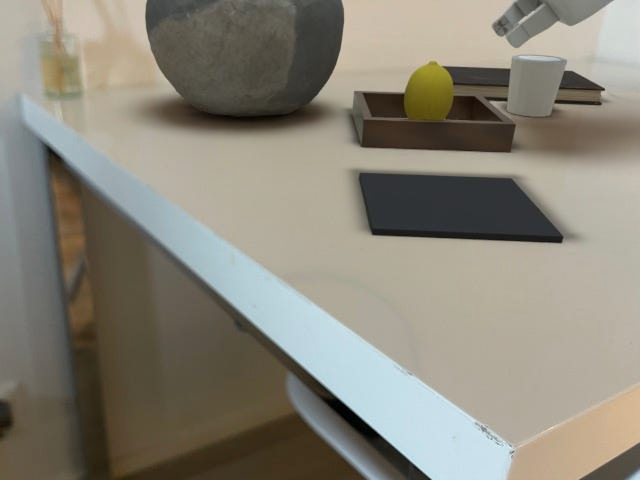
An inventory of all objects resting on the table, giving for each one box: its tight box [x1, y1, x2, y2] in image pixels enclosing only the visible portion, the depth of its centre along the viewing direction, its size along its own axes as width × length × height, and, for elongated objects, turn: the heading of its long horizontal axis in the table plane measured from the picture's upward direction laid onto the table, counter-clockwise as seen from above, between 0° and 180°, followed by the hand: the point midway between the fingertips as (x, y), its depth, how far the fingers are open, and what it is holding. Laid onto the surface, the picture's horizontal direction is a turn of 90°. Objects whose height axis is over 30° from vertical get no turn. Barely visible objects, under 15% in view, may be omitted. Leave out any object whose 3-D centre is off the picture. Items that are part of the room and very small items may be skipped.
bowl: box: [144, 0, 345, 118], centre depth 83 cm, size 24×24×15 cm
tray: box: [351, 90, 517, 153], centre depth 78 cm, size 16×16×3 cm
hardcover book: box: [441, 65, 606, 106], centre depth 102 cm, size 16×23×2 cm
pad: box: [358, 172, 564, 243], centre depth 55 cm, size 14×14×1 cm
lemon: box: [404, 60, 454, 120], centre depth 77 cm, size 6×6×8 cm
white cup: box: [506, 54, 568, 118], centre depth 88 cm, size 7×7×7 cm
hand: (501, 37), depth 74 cm, fingers open, 8 cm apart
